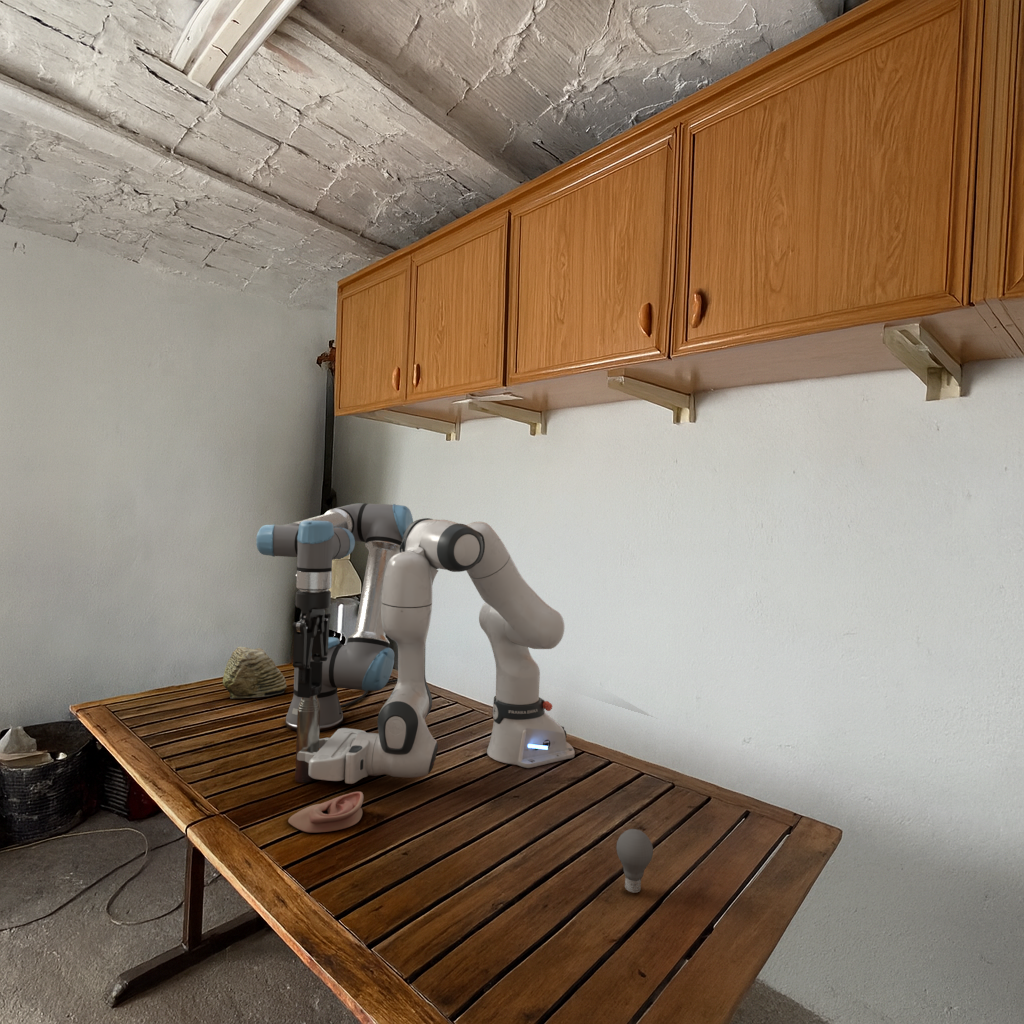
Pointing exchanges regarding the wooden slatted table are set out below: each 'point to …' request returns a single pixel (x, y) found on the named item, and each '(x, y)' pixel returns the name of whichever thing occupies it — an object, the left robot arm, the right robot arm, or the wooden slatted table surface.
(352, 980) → the wooden slatted table surface
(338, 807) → the anatomical model
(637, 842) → the light bulb
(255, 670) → the fossil
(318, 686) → the cap
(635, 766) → the wooden slatted table surface
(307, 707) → the bottle
